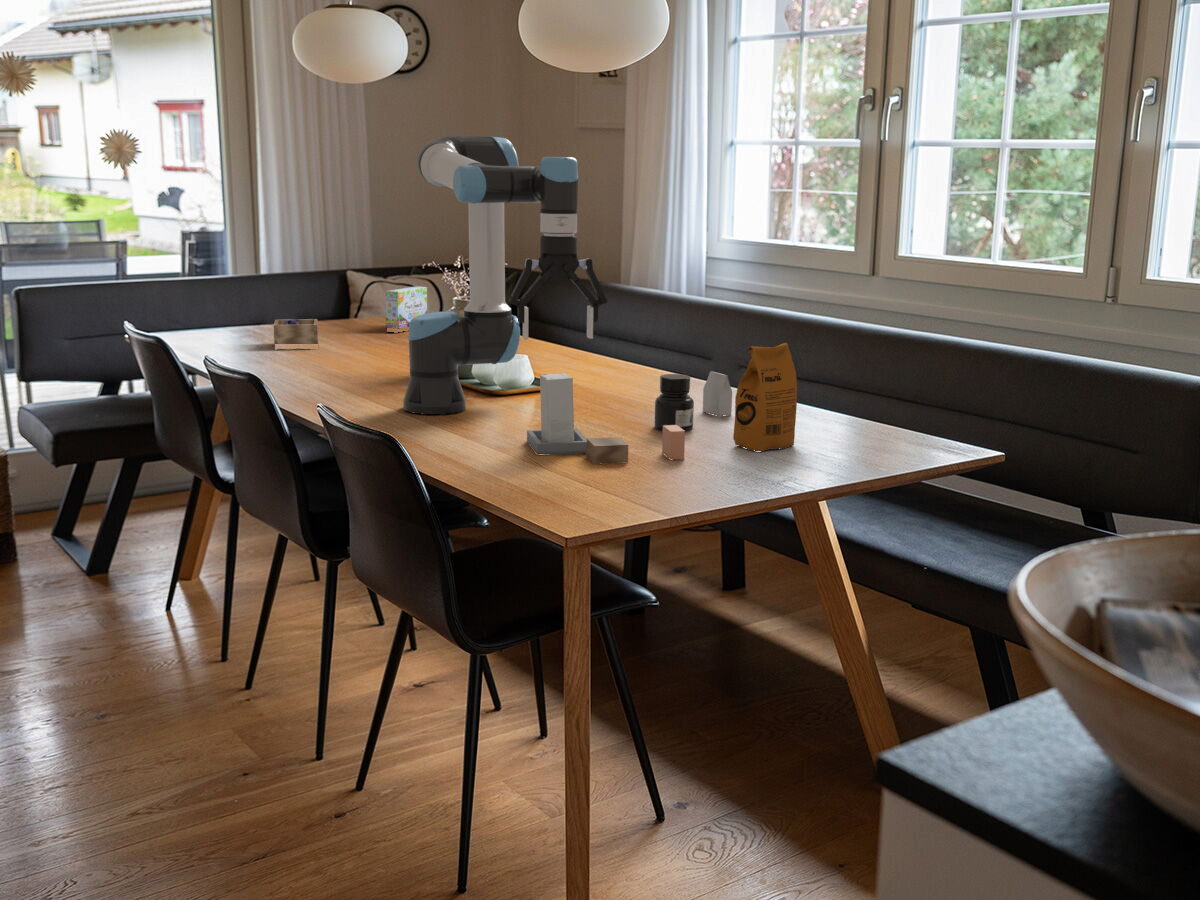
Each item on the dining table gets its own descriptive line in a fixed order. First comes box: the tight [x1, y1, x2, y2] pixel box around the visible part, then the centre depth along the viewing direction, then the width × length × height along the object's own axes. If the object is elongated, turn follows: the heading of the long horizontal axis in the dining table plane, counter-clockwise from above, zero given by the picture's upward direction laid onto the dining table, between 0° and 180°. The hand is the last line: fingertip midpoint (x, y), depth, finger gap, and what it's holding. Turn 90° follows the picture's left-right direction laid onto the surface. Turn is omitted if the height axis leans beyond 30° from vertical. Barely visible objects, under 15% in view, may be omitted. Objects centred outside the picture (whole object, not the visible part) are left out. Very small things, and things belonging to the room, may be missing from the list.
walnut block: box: [586, 436, 629, 465], centre depth 241 cm, size 7×7×4 cm
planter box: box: [273, 318, 319, 345], centre depth 385 cm, size 14×14×8 cm
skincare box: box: [539, 372, 575, 442], centre depth 249 cm, size 8×6×15 cm
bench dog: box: [661, 425, 686, 460], centre depth 244 cm, size 3×6×6 cm, turn 13°
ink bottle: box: [654, 373, 695, 431], centre depth 270 cm, size 10×9×12 cm
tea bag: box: [702, 371, 733, 417], centre depth 287 cm, size 4×7×10 cm, turn 31°
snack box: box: [385, 285, 428, 329], centre depth 427 cm, size 21×6×15 cm, turn 159°
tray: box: [526, 428, 587, 455], centre depth 251 cm, size 11×13×2 cm
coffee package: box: [732, 342, 798, 452], centre depth 252 cm, size 10×12×22 cm
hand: (557, 338), depth 246 cm, fingers open, 13 cm apart
